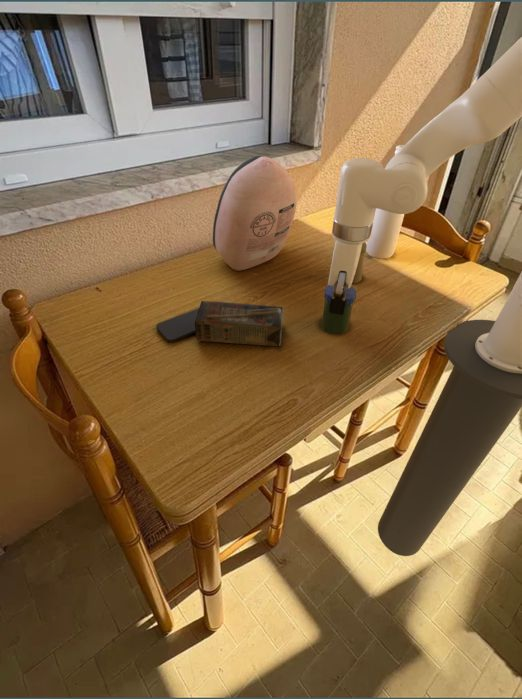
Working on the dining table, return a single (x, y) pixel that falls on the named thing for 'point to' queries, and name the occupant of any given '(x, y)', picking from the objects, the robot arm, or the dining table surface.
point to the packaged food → (254, 213)
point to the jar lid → (349, 294)
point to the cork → (359, 265)
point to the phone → (178, 326)
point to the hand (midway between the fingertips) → (338, 303)
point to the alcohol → (384, 231)
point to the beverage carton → (239, 323)
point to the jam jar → (336, 319)
